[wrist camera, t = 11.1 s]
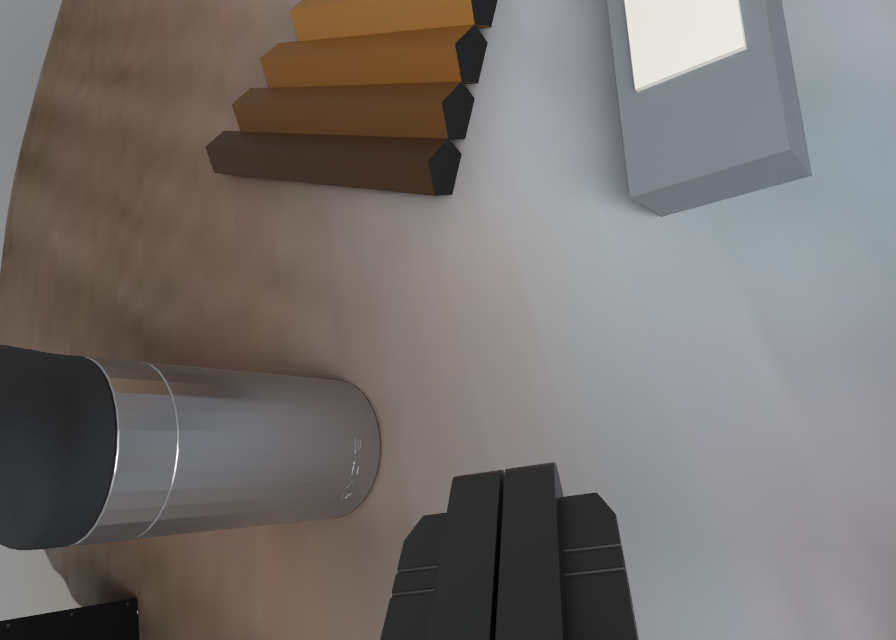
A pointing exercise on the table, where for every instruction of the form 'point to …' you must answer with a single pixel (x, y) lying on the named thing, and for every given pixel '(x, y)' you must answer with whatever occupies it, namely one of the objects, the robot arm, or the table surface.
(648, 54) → the slate block
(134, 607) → the black bottle
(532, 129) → the table surface
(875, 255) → the table surface
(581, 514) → the robot arm
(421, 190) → the pan flute
